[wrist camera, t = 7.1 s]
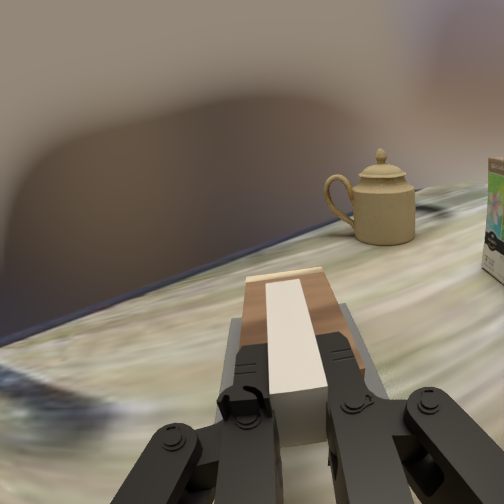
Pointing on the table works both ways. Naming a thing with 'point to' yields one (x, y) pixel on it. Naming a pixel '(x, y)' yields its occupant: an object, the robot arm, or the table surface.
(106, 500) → the table surface
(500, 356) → the table surface
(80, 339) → the table surface
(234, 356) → the mat
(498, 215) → the tea box
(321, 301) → the walnut block
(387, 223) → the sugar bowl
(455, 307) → the table surface
